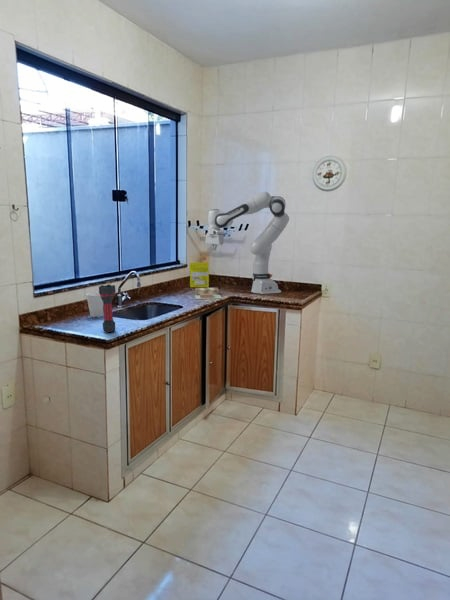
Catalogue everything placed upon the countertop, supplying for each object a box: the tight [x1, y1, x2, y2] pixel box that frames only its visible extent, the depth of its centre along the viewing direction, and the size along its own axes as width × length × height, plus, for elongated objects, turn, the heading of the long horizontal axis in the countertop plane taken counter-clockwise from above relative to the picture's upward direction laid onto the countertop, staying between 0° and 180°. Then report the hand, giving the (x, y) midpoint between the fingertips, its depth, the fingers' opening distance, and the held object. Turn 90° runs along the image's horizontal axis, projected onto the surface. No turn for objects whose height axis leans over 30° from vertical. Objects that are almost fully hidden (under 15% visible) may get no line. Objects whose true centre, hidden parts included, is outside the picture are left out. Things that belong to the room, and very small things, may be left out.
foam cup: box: [85, 292, 104, 317], centre depth 231 cm, size 10×9×13 cm
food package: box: [189, 262, 210, 288], centre depth 332 cm, size 15×1×20 cm, turn 84°
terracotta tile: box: [200, 293, 213, 298], centre depth 288 cm, size 9×6×2 cm, turn 93°
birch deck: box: [194, 287, 220, 295], centre depth 301 cm, size 16×10×4 cm, turn 98°
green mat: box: [194, 294, 223, 300], centre depth 290 cm, size 18×13×1 cm
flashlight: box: [98, 284, 116, 333], centre depth 198 cm, size 8×8×23 cm
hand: (214, 250), depth 308 cm, fingers closed
